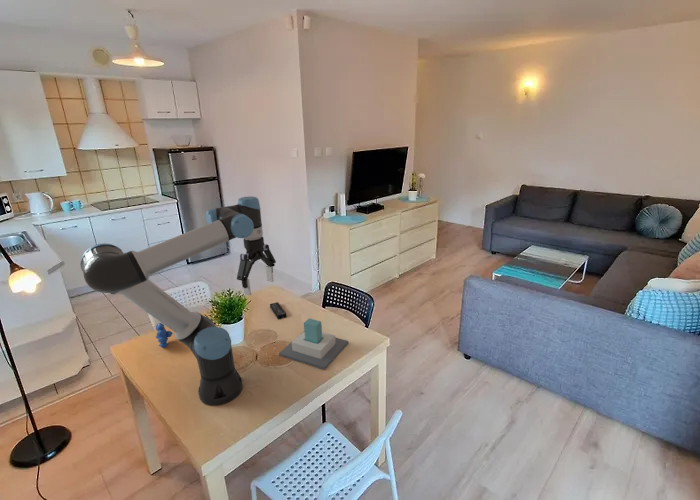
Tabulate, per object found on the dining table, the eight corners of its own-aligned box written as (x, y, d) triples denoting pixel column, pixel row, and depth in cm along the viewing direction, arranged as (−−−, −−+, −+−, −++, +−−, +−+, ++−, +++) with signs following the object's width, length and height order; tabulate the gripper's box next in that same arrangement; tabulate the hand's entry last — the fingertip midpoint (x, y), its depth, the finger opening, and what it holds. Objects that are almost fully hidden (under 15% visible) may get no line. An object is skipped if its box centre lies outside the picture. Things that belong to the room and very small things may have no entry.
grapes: (176, 351, 158) (171, 326, 154) (159, 356, 155) (153, 331, 151) (174, 338, 168) (169, 315, 164) (157, 342, 165) (152, 319, 161)
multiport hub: (278, 305, 195) (277, 301, 195) (286, 317, 183) (286, 313, 182) (270, 307, 193) (269, 304, 193) (278, 320, 181) (277, 316, 180)
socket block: (324, 370, 143) (323, 358, 142) (279, 355, 153) (277, 344, 151) (348, 343, 160) (348, 332, 158) (306, 331, 170) (305, 321, 168)
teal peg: (317, 351, 153) (316, 326, 149) (305, 347, 156) (303, 322, 152) (322, 346, 156) (321, 321, 152) (311, 342, 159) (309, 318, 155)
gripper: (237, 248, 130) (244, 302, 137) (281, 229, 150) (285, 277, 157) (221, 245, 133) (229, 298, 140) (266, 227, 154) (271, 274, 161)
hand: (259, 287), depth 149 cm, fingers open, 13 cm apart
